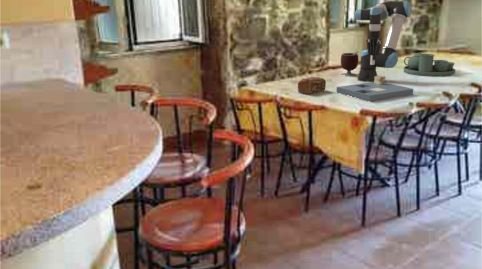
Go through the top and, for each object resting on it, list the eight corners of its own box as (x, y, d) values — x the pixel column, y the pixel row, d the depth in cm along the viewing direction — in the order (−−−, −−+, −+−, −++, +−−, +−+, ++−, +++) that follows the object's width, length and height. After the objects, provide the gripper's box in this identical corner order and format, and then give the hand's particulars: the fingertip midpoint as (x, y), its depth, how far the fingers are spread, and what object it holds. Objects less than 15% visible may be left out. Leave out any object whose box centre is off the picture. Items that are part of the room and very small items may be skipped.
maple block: (379, 82, 335) (379, 75, 334) (384, 83, 331) (385, 76, 329) (374, 83, 333) (374, 76, 331) (379, 84, 329) (379, 77, 327)
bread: (308, 95, 320) (309, 80, 317) (296, 92, 327) (297, 78, 324) (326, 91, 331) (326, 76, 328) (314, 88, 339) (314, 74, 336)
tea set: (463, 76, 376) (465, 55, 371) (412, 77, 376) (413, 56, 372) (443, 68, 414) (445, 49, 409) (397, 69, 414) (398, 49, 410)
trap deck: (378, 86, 342) (378, 81, 340) (412, 94, 315) (413, 88, 313) (336, 92, 324) (336, 86, 323) (369, 101, 298) (369, 95, 296)
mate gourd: (336, 75, 389) (337, 50, 384) (347, 73, 397) (349, 48, 392) (351, 77, 378) (352, 52, 372) (362, 75, 386) (364, 50, 380)
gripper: (363, 30, 332) (361, 63, 339) (377, 31, 321) (374, 66, 328) (372, 29, 335) (369, 63, 342) (385, 30, 324) (383, 65, 331)
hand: (372, 64), depth 335 cm, fingers closed
